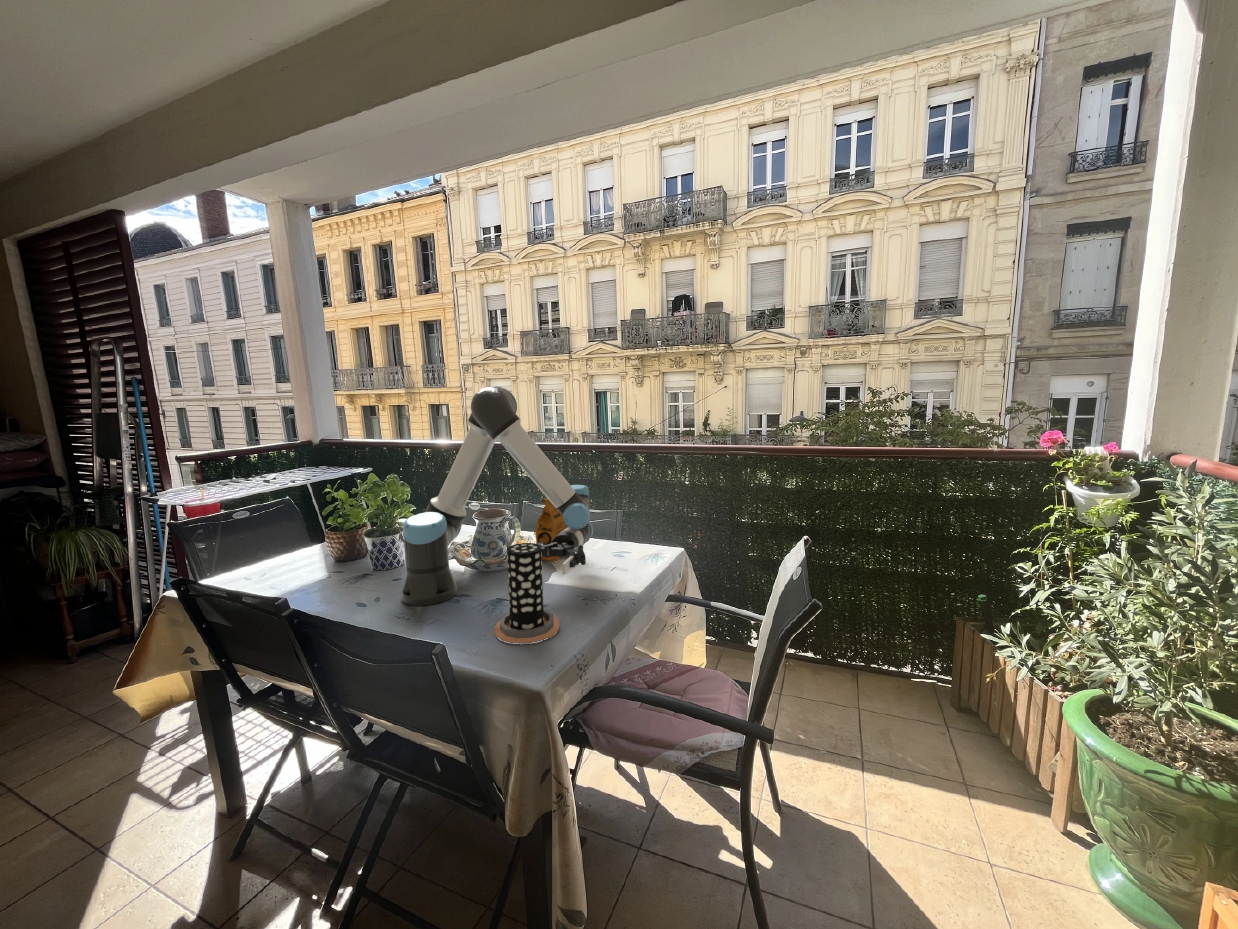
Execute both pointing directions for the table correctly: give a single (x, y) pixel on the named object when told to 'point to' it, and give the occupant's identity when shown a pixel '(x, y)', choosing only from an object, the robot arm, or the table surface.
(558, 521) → the coffee package
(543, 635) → the collar plate
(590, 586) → the table surface
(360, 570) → the table surface
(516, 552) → the white-spotted black cylinder
